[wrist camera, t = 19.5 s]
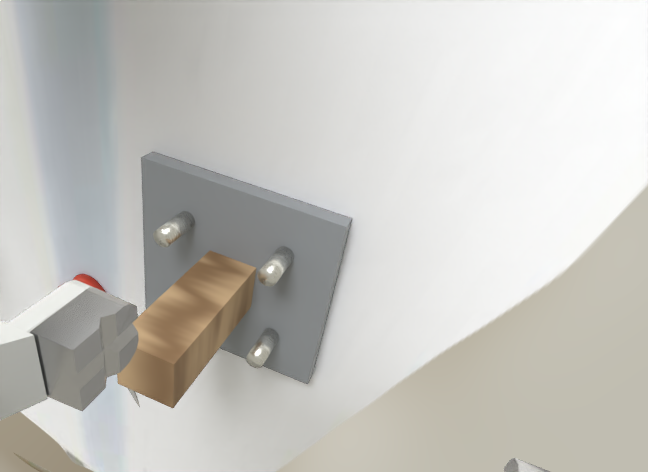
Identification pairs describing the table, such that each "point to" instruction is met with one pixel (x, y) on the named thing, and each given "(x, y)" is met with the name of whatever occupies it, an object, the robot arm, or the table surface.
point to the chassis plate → (247, 254)
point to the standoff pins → (265, 275)
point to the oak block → (188, 327)
